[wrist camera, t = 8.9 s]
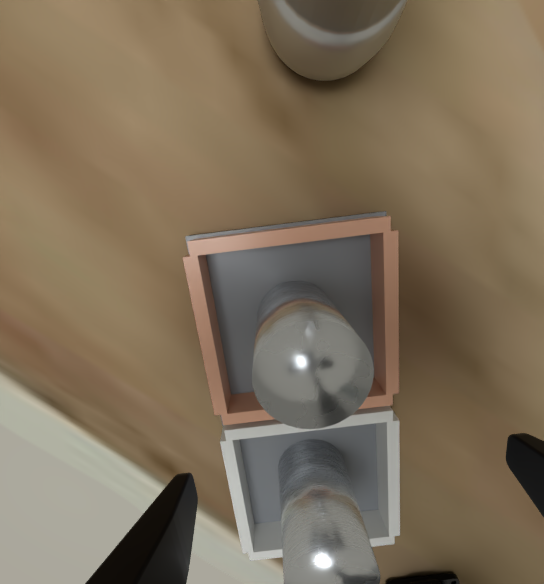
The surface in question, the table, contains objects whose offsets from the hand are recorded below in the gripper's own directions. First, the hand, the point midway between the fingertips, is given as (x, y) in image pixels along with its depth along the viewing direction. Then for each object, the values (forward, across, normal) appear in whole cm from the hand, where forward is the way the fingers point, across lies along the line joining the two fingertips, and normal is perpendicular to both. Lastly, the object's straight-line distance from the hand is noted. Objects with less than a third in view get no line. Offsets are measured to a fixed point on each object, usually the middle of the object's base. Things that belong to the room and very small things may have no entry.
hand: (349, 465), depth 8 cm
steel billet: (+11, 0, 0) cm, 11 cm away
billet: (+11, 0, +12) cm, 16 cm away
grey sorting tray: (+12, 0, +6) cm, 13 cm away
